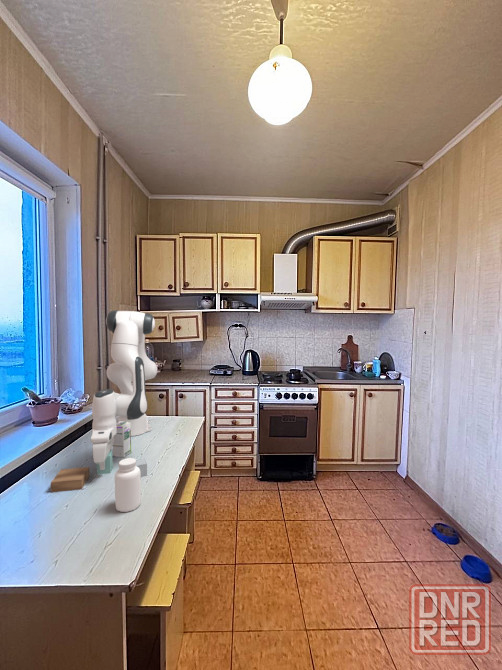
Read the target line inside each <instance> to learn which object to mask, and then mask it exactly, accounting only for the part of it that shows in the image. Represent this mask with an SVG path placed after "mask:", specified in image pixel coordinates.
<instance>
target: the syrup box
mask: <svg viewBox="0 0 502 670" xmlns="http://www.w3.org/2000/svg"><path fill="white" fill-rule="evenodd" d="M116 425H117V433H116V435H114V444H113V446H112V451H113V457H115V458H125V457H126V456H127V455H128V456H129V455H130V454H131V453H132V439H131V438H132V436H131V425H130V422H127V421H120V422H118V421H117V422H116Z"/></svg>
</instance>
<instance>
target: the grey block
mask: <svg viewBox="0 0 502 670" xmlns="http://www.w3.org/2000/svg"><path fill="white" fill-rule="evenodd" d="M146 460H147V459H146V458H142V459H136V466H137V467H138V468H139V469H140V474H141V478H143V477H147V476H148V463H147V461H146Z"/></svg>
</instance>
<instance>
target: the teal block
mask: <svg viewBox="0 0 502 670" xmlns="http://www.w3.org/2000/svg"><path fill="white" fill-rule="evenodd" d="M113 457H114V456H113V450H111V451H110V452H109V454H108V456H107V458H106V460H105V469H104V470H100V466H99V463H96V475H106V474H111V473H112V470H113V468H114V462H113V461H114V460H113V459H114V458H113Z"/></svg>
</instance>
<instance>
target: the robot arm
mask: <svg viewBox="0 0 502 670" xmlns="http://www.w3.org/2000/svg"><path fill="white" fill-rule="evenodd" d="M105 324H106V329H108V331H110V332H111V333H112V334H113V336H112V340H111V345H110V356H111V359H112V360H113V363H110V364H109V365H108V367H107V369H106V377H107V379H108V380H109V381H111V382H112V383H113V384H114V385H116V387H118V389H119V391H120V393H118V392H116V391H114V390H113V389H111V388H105V389H101V390H97V391H96V392H95V393H94V394H93V398H92V405H91V414H92V418H93V420H92V424H91V425H92V430H91V431H92V432H91V436H90V443H91V444H92V457H93V458H92V459H93V462H94V464H97V463H99V466H100V470H104V469H105V460H106V458H107V456H108V454H109V452H110V451H112V449H113V444H114V435H116V433H117V425H116V423H118V422H120V421H127V422H130V425H131V437H135V436H139V435H140V436H141V435H143V434H145V433H147V432H151V431H152V426H151V424H150V422H149V421H148V415H147V414H146V413H147V411H148V400H147V398H148V397H147V393H146V381H147V380H152V379H155V378H156V376H157V374H158V366H157V364H156V363H155V361H153V360H152V359H150V358H149V357H148V356H147V353H146V348H145V347H146V346H145V344H146V335H150V334H152V333H153V331H154V330H155V327H156V320H155V317H154V315H153V314H151V313H149V312H145V313H144V312H141V311H136V310H131V311H130V310H111V311H108V313H107V315H106V319H105ZM116 418H118V421H117V419H116Z"/></svg>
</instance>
